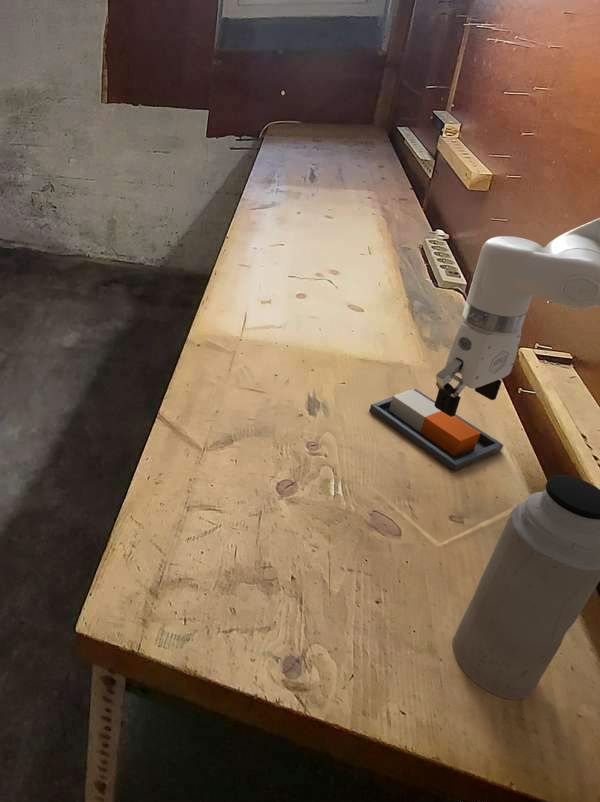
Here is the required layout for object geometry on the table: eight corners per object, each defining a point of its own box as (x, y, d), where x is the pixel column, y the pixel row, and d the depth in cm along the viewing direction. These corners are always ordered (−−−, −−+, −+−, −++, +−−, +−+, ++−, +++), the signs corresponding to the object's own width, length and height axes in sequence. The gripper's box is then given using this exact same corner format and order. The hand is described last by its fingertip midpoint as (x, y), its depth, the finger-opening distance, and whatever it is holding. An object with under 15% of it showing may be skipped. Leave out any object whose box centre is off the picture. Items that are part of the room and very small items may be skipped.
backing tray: (412, 396, 110) (415, 388, 109) (500, 453, 96) (503, 444, 95) (368, 412, 106) (370, 404, 105) (452, 474, 92) (456, 465, 91)
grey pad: (407, 403, 107) (412, 388, 106) (439, 424, 102) (444, 409, 100) (388, 410, 106) (392, 395, 104) (419, 432, 100) (424, 417, 99)
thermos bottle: (530, 649, 68) (626, 480, 55) (538, 715, 62) (648, 541, 49) (451, 616, 71) (525, 451, 59) (452, 675, 65) (534, 504, 53)
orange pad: (439, 424, 102) (444, 409, 100) (474, 448, 97) (481, 432, 95) (419, 432, 100) (424, 417, 99) (454, 456, 95) (460, 441, 93)
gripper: (478, 340, 81) (449, 432, 88) (555, 313, 87) (522, 401, 94) (430, 317, 87) (407, 404, 95) (505, 293, 93) (477, 377, 100)
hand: (464, 403), depth 94 cm, fingers open, 9 cm apart
